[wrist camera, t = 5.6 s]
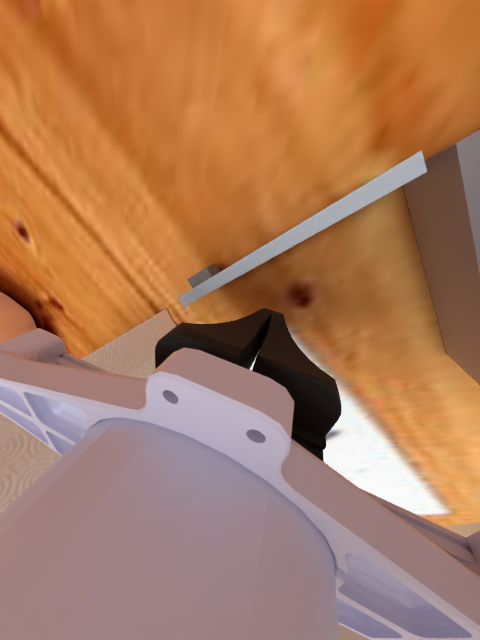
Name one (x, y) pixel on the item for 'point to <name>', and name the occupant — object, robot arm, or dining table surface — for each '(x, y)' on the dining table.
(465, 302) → the box
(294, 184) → the dining table surface
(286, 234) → the side door
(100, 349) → the paper towel roll
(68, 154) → the dining table surface
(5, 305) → the bowl
